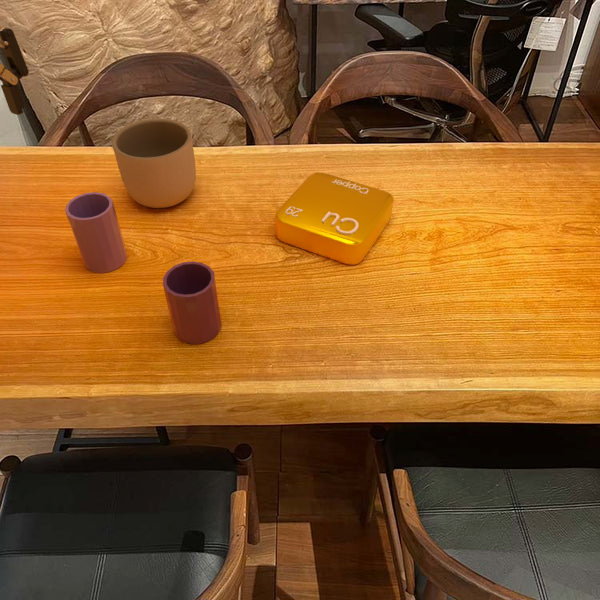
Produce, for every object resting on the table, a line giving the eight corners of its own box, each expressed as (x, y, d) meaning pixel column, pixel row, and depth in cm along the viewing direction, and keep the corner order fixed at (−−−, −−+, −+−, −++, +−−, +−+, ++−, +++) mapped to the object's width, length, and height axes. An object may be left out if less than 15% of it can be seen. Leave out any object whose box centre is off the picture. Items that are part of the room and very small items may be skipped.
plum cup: (185, 351, 77) (175, 303, 70) (166, 320, 80) (155, 273, 74) (229, 332, 79) (223, 284, 73) (208, 303, 83) (201, 255, 76)
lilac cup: (92, 278, 86) (73, 225, 79) (78, 254, 90) (59, 201, 83) (133, 263, 89) (118, 210, 82) (118, 240, 92) (103, 187, 85)
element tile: (394, 215, 97) (398, 191, 94) (357, 269, 88) (359, 245, 84) (314, 190, 102) (314, 166, 98) (270, 239, 93) (269, 214, 89)
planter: (149, 168, 107) (137, 112, 99) (211, 181, 104) (204, 125, 96) (112, 207, 98) (96, 150, 91) (178, 222, 95) (167, 165, 88)
